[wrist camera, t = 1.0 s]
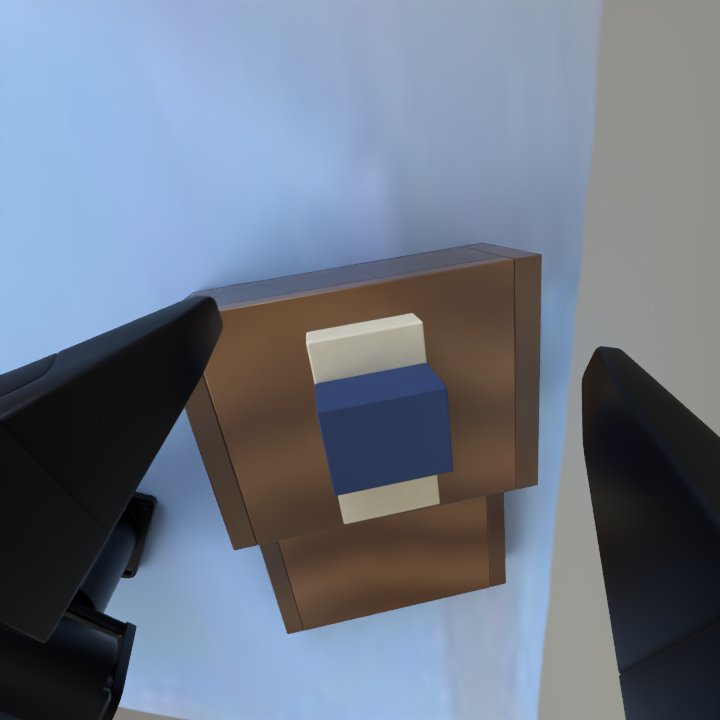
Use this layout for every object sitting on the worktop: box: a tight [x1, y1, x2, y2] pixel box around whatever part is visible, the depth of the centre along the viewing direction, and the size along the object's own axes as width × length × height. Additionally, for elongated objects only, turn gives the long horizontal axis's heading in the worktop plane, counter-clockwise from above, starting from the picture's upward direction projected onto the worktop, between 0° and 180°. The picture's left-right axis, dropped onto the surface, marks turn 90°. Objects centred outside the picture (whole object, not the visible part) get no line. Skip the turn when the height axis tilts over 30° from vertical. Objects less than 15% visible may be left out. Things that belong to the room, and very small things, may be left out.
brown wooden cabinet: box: [184, 243, 542, 634], centre depth 24 cm, size 24×16×6 cm, turn 8°
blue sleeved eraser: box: [306, 313, 453, 524], centre depth 17 cm, size 9×5×4 cm, turn 8°
